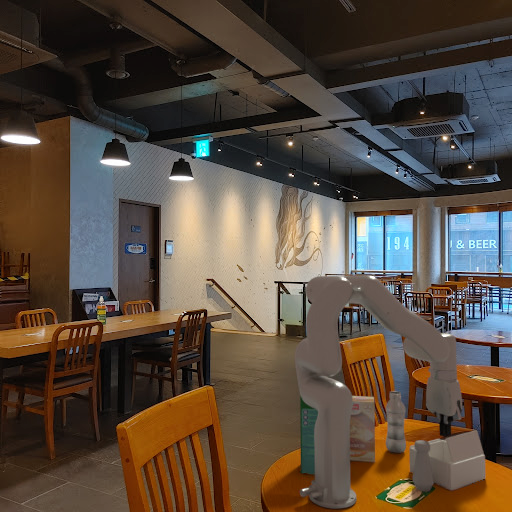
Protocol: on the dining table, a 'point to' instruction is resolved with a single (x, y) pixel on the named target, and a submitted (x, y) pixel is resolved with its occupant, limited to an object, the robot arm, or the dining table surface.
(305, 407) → the milk carton
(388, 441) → the plastic bottle
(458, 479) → the carton
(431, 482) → the salt shaker
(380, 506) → the dining table surface
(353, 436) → the coffeecake box
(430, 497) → the dining table surface
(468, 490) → the dining table surface
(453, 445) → the flap
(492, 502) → the dining table surface
